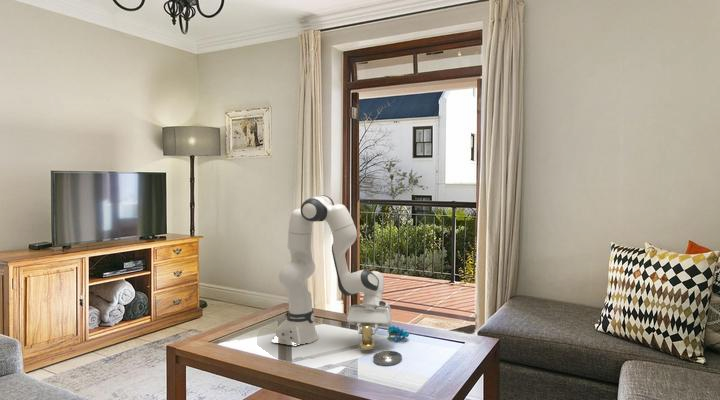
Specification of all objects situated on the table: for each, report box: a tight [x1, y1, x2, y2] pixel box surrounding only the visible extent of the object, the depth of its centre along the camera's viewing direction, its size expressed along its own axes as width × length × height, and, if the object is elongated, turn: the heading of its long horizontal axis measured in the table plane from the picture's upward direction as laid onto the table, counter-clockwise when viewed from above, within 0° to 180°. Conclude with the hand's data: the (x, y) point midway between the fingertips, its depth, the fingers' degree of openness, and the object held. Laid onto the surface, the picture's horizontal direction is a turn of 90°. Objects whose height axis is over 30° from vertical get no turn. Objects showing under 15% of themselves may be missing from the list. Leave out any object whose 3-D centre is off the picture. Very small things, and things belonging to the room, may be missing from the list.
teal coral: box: [387, 325, 410, 343], centre depth 207 cm, size 11×6×10 cm
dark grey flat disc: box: [372, 350, 403, 367], centre depth 188 cm, size 12×12×1 cm
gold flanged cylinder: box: [359, 324, 376, 351], centre depth 197 cm, size 6×6×10 cm
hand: (366, 334), depth 197 cm, fingers closed on gold flanged cylinder, 4 cm apart
